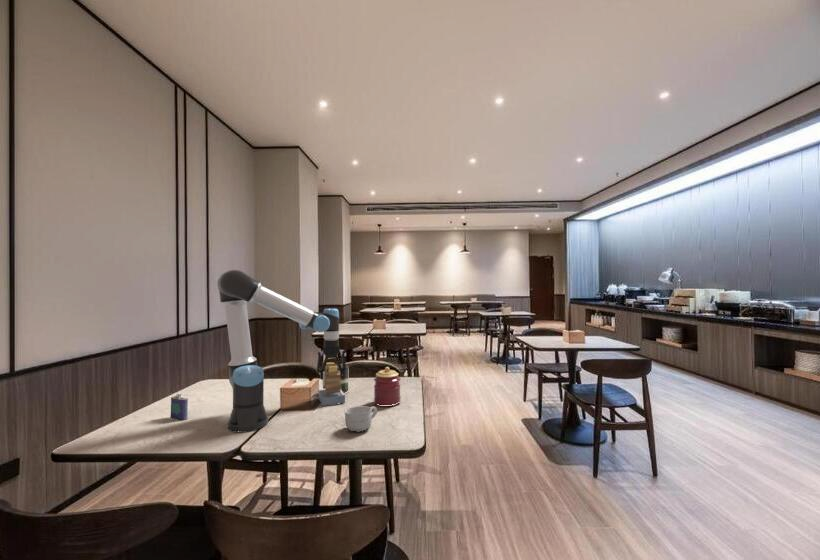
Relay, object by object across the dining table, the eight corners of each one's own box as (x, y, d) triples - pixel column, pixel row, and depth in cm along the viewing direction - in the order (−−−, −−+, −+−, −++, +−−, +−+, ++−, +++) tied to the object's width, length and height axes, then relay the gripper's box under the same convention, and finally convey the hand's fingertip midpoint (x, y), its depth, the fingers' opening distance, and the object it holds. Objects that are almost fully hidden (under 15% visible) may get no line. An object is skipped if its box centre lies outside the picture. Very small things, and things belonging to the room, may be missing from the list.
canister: (405, 401, 178) (405, 365, 179) (390, 409, 167) (390, 371, 168) (384, 397, 185) (384, 363, 186) (368, 404, 174) (368, 367, 175)
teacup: (349, 437, 136) (349, 415, 137) (341, 427, 146) (341, 407, 146) (383, 430, 143) (383, 409, 143) (373, 421, 152) (373, 402, 153)
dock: (345, 403, 176) (345, 394, 176) (322, 406, 172) (322, 397, 172) (340, 395, 189) (340, 387, 189) (318, 398, 185) (318, 389, 185)
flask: (189, 418, 157) (189, 393, 157) (182, 421, 154) (182, 395, 154) (174, 416, 160) (174, 391, 160) (168, 418, 157) (168, 393, 158)
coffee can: (345, 395, 189) (345, 368, 190) (326, 394, 191) (326, 367, 191) (351, 389, 200) (351, 364, 200) (333, 389, 201) (333, 363, 202)
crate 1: (334, 371, 183) (334, 363, 184) (326, 372, 182) (326, 364, 182) (333, 369, 187) (333, 362, 187) (325, 370, 186) (325, 362, 186)
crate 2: (337, 375, 176) (337, 366, 176) (329, 375, 175) (329, 367, 175) (336, 373, 180) (336, 365, 180) (327, 374, 178) (327, 365, 178)
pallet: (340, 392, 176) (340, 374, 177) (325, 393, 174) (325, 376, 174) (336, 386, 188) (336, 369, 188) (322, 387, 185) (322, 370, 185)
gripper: (349, 337, 188) (349, 381, 188) (310, 339, 181) (310, 385, 181) (352, 339, 181) (352, 384, 181) (311, 341, 174) (311, 389, 174)
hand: (331, 385), depth 181 cm, fingers closed on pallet, 7 cm apart
